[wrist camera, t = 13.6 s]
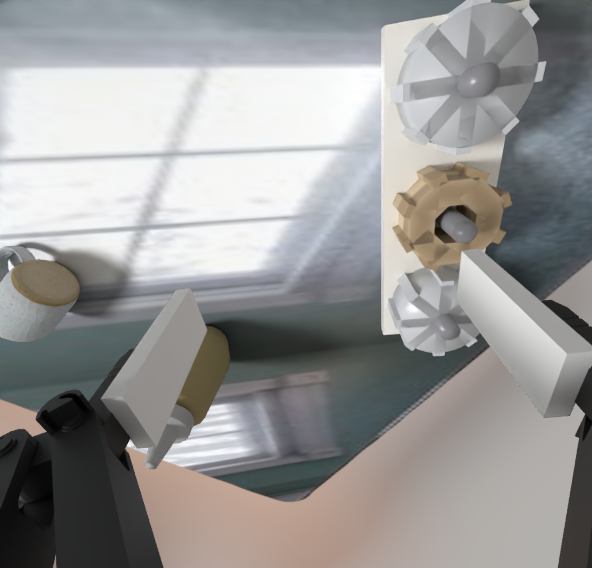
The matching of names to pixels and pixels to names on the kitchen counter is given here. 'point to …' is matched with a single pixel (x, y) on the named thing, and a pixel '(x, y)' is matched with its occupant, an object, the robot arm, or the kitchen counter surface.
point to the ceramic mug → (33, 295)
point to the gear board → (445, 144)
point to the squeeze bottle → (194, 394)
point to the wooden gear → (435, 199)
